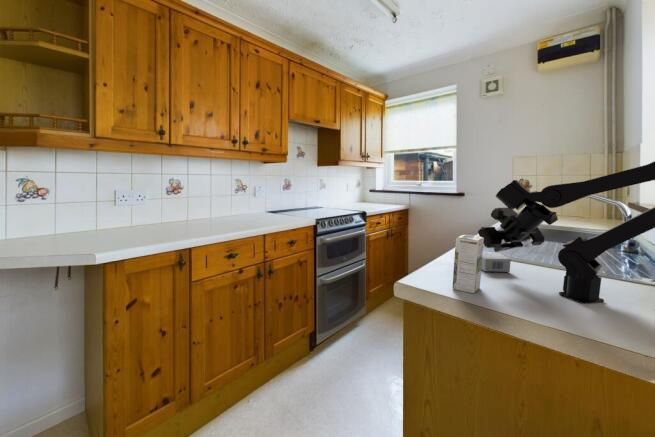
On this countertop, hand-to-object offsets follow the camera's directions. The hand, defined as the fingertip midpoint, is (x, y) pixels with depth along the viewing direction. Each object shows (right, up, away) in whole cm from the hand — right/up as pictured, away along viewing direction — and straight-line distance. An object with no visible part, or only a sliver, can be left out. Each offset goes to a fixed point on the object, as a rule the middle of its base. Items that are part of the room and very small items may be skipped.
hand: (495, 250), depth 96 cm
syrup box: (-15, -9, -13) cm, 22 cm away
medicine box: (+1, -5, 0) cm, 5 cm away
